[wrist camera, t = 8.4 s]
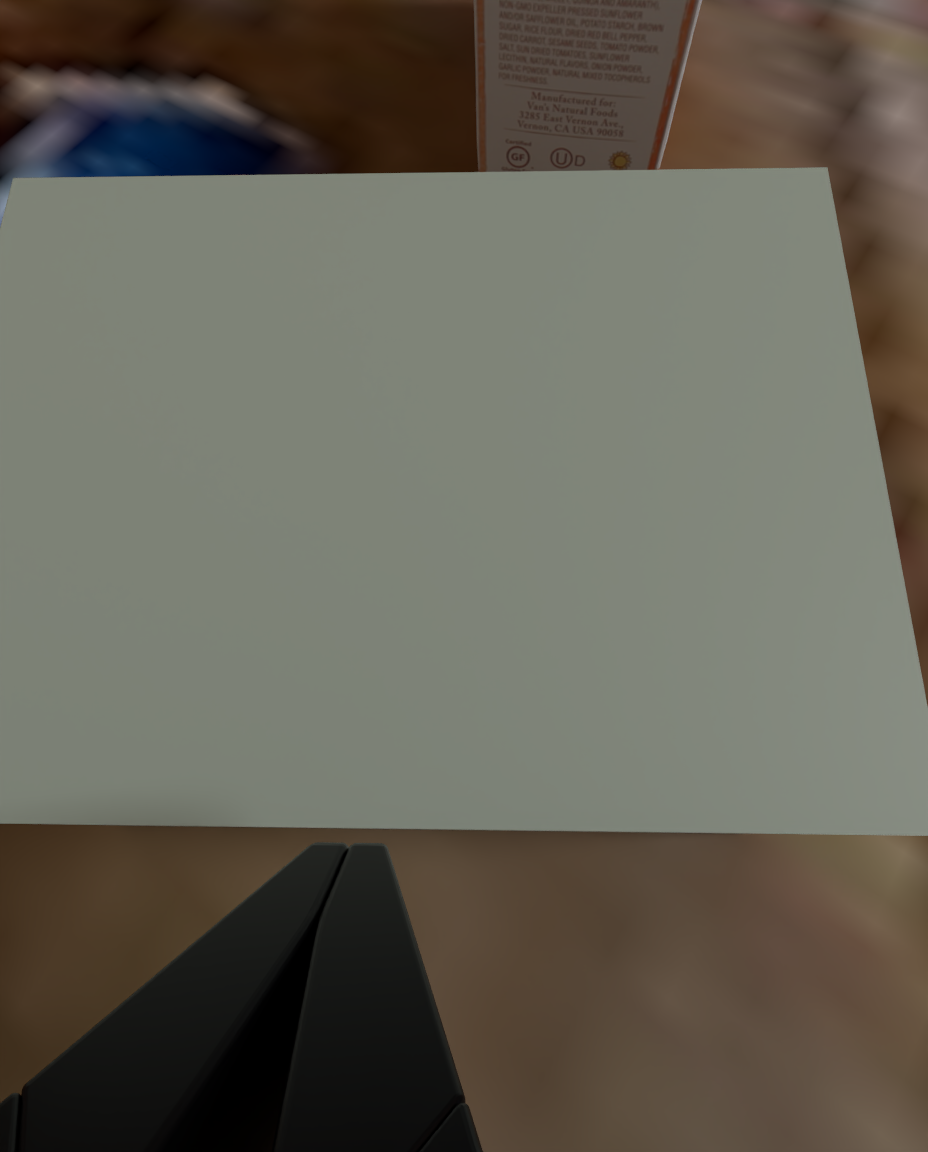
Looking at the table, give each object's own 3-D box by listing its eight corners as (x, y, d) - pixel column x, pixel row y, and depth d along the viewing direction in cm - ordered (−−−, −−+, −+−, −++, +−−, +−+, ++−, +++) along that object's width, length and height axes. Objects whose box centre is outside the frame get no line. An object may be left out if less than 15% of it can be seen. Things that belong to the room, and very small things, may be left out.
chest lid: (910, 832, 11) (950, 836, 10) (-102, 819, 11) (-155, 821, 10) (804, 208, 15) (827, 167, 14) (42, 216, 15) (13, 178, 14)
